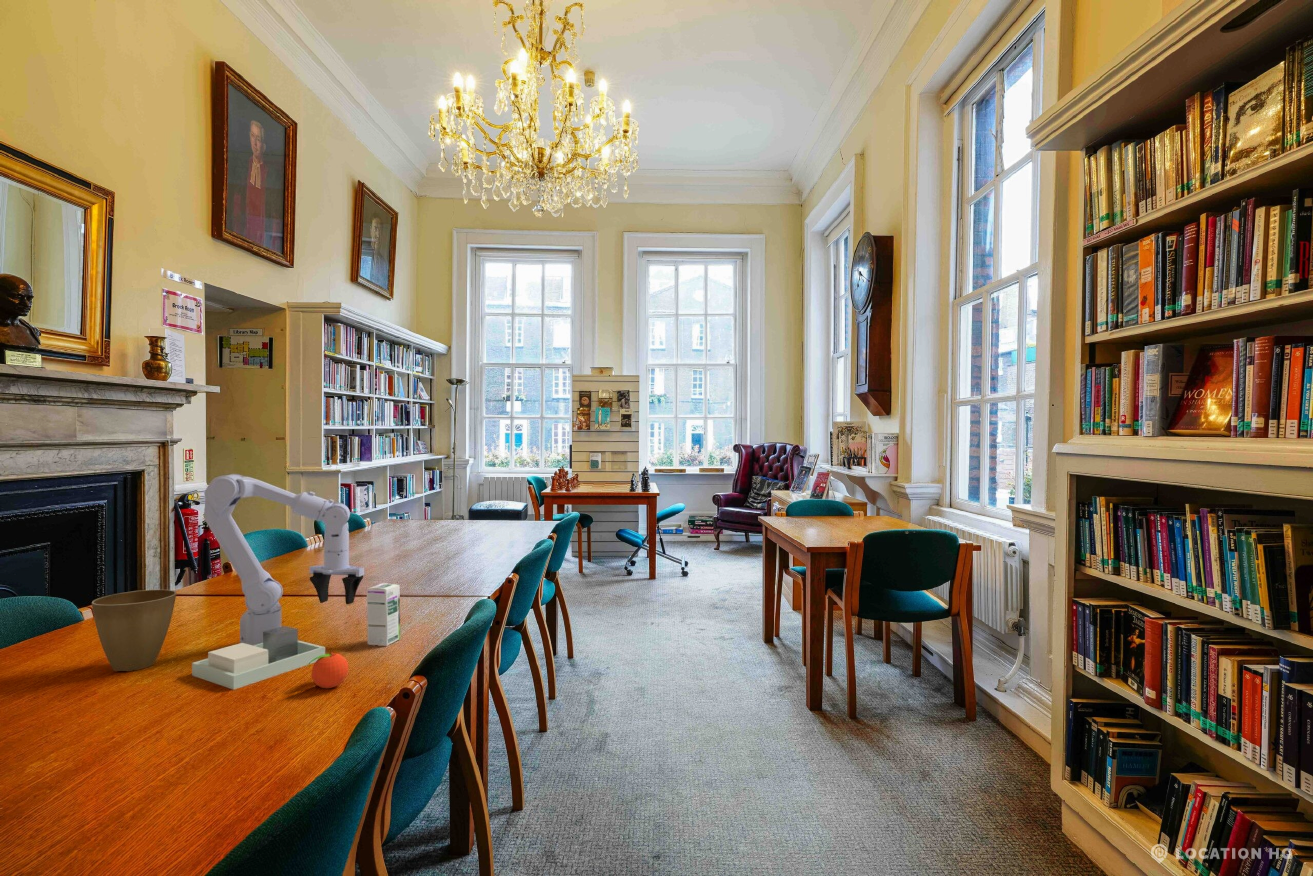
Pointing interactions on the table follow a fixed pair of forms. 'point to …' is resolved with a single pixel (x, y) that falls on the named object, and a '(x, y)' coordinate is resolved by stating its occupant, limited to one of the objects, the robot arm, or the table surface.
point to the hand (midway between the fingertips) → (336, 602)
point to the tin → (280, 643)
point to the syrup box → (383, 614)
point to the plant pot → (133, 626)
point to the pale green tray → (260, 673)
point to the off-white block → (238, 658)
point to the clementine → (329, 670)
